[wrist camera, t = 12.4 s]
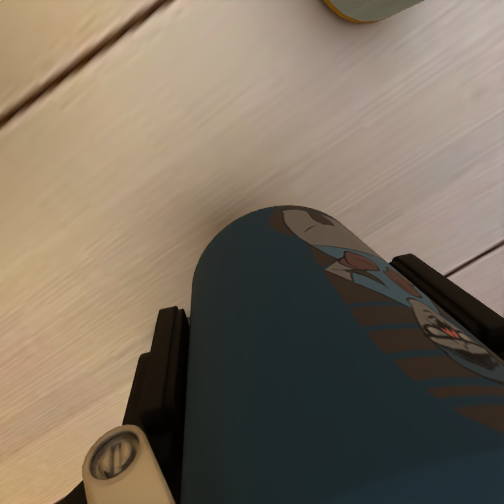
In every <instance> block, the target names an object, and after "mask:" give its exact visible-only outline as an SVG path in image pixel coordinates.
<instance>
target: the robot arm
mask: <svg viewBox="0 0 504 504" xmlns="http://www.w3.org/2000/svg"><path fill="white" fill-rule="evenodd" d="M389 264H390V265H391V266H392V267H393V268H394V269H396V270H397V271H398V272H399V273H400V274H401V275H403V276H404V277H405V278H406V279H407V280H408V281H410V282H411V283H412V284H413V285H414V286H416V287H417V288H418V289H419V290H420V291H421V292H423V293H424V294H425V295H426V296H427V297H429V298H430V299H431V300H432V301H433V302H434V303H436V304H437V305H438V306H439V307H440V308H442V309H443V310H444V311H445V312H446V313H447V314H449V315H450V316H451V317H452V318H453V319H455V320H456V321H457V322H458V323H459V324H460V325H462V326H463V327H464V328H465V329H466V330H468V331H469V332H470V333H471V334H472V335H473V336H475V337H476V338H477V339H478V340H479V341H480V342H482V343H483V344H484V345H485V346H486V347H488V348H489V349H490V350H491V351H492V352H493V353H495V354H496V355H497V356H498V357H499V358H501V359H502V360H503V361H504V318H503V317H501V316H500V315H498V314H497V313H496V312H494V311H493V310H491V309H490V308H488V307H487V306H486V305H484V304H483V303H481V302H480V301H479V300H477V299H476V298H474V297H473V296H471V295H470V294H469V293H467V292H466V291H464V290H463V289H461V288H460V287H459V286H457V285H456V284H454V283H453V282H452V281H450V280H449V279H447V278H446V277H444V276H443V275H442V274H440V273H439V272H437V271H436V270H435V269H433V268H432V267H430V266H429V265H427V264H426V263H425V262H423V261H422V260H420V259H419V258H417V257H416V256H415V255H413V254H405V255H401V256H397V257H394V258H393V260H392V262H390V263H389ZM189 331H190V326H189V323H188V320H187V317H186V314H185V311H184V309H180V310H178V307H177V306H174V307H169V308H165V309H160V310H159V313H158V318H157V322H156V327H155V332H154V336H153V341H152V346H151V350H150V352H148V353H144V354H141V355H140V357H139V360H138V364H137V368H136V372H135V376H134V380H133V384H132V388H131V392H130V396H129V400H128V404H127V408H126V412H125V415H124V419H123V423H122V426H119V427H116V428H114V429H112V430H110V431H108V432H107V433H105V434H104V435H103V436H102V437H100V438H99V439H98V440H97V441H96V442H95V443H94V445H93V446H92V447H91V448H90V450H89V452H88V453H87V455H86V456H85V459H84V462H83V466H82V477H83V481H82V482H80V483H79V484H78V485H77V486H76V487H75V488H74V489H73V490H72V491H71V492H70V493H69V494H68V495H67V496H66V497H65V498H64V499H63V500H62V501H61V502H60V503H59V504H180V499H181V480H182V462H183V443H184V424H185V406H186V387H187V369H188V350H189Z"/></svg>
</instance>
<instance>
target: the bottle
mask: <svg viewBox="0 0 504 504" xmlns="http://www.w3.org/2000/svg"><path fill="white" fill-rule="evenodd" d="M323 1H324V2H325V3H326V5H327V6H328V7H329V8H330V9H332V10H333V11H334V12H335V13H336V14H337V15H338V16H340V17H341V18H344V19H346V20H349V21H351V22H354V23H373V22H377V21H379V20H383V19H385V18H387V17H389V16H392V15H394V14H396V13H398V12H400V11H403V10H405V9H407V8H409V7H411V6H413V5H415V4H418V3H420V2H422V1H424V0H323Z"/></svg>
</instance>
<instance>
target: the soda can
mask: <svg viewBox="0 0 504 504" xmlns="http://www.w3.org/2000/svg"><path fill="white" fill-rule="evenodd" d="M180 504H504V361H503V360H502V359H501V358H499V357H498V356H497V355H496V354H495V353H493V352H492V351H491V350H490V349H489V348H488V347H486V346H485V345H484V344H483V343H482V342H480V341H479V340H478V339H477V338H476V337H475V336H473V335H472V334H471V333H470V332H469V331H468V330H466V329H465V328H464V327H463V326H462V325H460V324H459V323H458V322H457V321H456V320H455V319H453V318H452V317H451V316H450V315H449V314H447V313H446V312H445V311H444V310H443V309H442V308H440V307H439V306H438V305H437V304H436V303H434V302H433V301H432V300H431V299H430V298H429V297H427V296H426V295H425V294H424V293H423V292H421V291H420V290H419V289H418V288H417V287H416V286H414V285H413V284H412V283H411V282H410V281H408V280H407V279H406V278H405V277H404V276H403V275H401V274H400V273H399V272H398V271H397V270H396V269H394V268H393V267H392V266H391V265H390V264H388V263H387V262H386V261H385V260H384V259H383V258H381V257H380V256H379V255H378V254H377V253H375V252H374V251H373V250H372V249H371V248H370V247H368V246H367V245H366V244H365V243H364V242H362V241H361V240H360V239H359V238H358V237H357V236H355V235H354V234H353V233H352V232H351V231H349V230H348V229H347V228H346V227H345V226H344V225H342V224H341V223H340V222H339V221H337V220H336V219H334V218H333V217H331V216H329V215H327V214H325V213H323V212H321V211H318V210H315V209H312V208H307V207H302V206H291V205H287V206H274V207H268V208H264V209H260V210H257V211H254V212H251V213H249V214H246V215H244V216H242V217H240V218H238V219H237V220H235V221H233V222H232V223H230V224H229V225H228V226H226V227H225V228H224V229H223V230H222V231H220V232H219V233H218V234H217V235H216V236H215V237H214V238H213V240H212V241H211V242H210V243H209V244H208V246H207V247H206V249H205V250H204V252H203V253H202V255H201V257H200V259H199V261H198V264H197V266H196V269H195V272H194V276H193V282H192V294H191V313H190V331H189V350H188V369H187V387H186V406H185V424H184V443H183V462H182V480H181V499H180Z"/></svg>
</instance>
